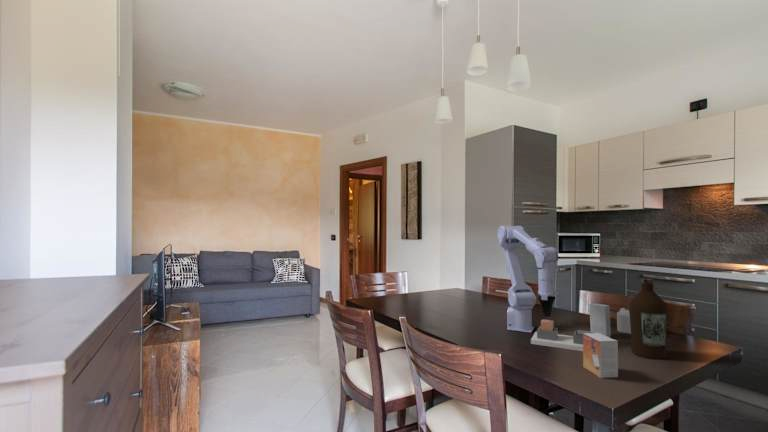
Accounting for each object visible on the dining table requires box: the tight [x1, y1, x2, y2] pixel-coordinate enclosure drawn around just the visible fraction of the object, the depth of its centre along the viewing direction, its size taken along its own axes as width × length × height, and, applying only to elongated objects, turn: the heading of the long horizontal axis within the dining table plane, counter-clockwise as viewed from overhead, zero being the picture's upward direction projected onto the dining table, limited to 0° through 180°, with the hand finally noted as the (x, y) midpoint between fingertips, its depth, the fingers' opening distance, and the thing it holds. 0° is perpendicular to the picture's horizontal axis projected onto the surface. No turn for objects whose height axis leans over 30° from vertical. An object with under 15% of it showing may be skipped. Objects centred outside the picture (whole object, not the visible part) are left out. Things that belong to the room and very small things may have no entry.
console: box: [530, 325, 593, 352], centre depth 137 cm, size 22×12×4 cm, turn 60°
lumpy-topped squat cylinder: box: [616, 307, 631, 335], centre depth 153 cm, size 10×13×9 cm
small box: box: [582, 333, 619, 379], centre depth 110 cm, size 8×6×10 cm
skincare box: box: [588, 302, 612, 338], centre depth 146 cm, size 6×4×12 cm
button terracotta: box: [540, 319, 555, 332], centre depth 140 cm, size 4×4×4 cm
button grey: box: [577, 329, 591, 335], centre depth 134 cm, size 4×4×4 cm
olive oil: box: [628, 278, 668, 360], centre depth 125 cm, size 11×11×25 cm
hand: (547, 316), depth 140 cm, fingers closed
